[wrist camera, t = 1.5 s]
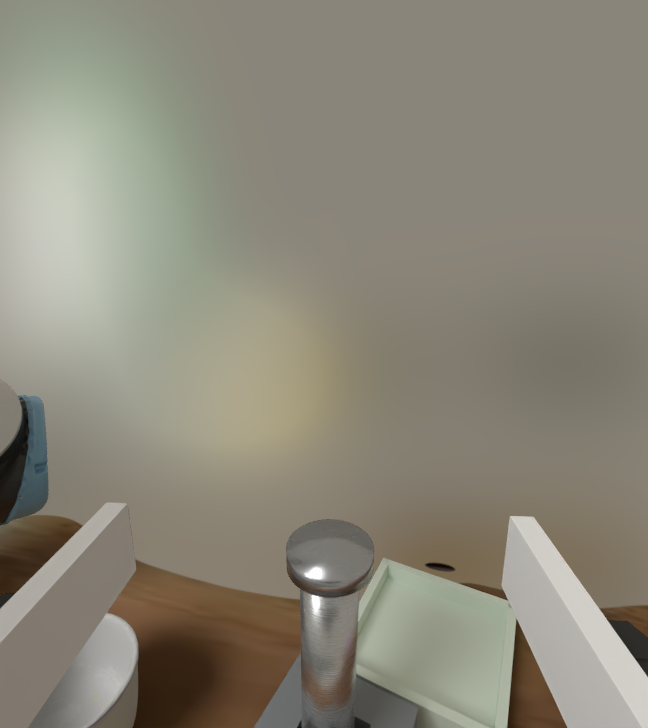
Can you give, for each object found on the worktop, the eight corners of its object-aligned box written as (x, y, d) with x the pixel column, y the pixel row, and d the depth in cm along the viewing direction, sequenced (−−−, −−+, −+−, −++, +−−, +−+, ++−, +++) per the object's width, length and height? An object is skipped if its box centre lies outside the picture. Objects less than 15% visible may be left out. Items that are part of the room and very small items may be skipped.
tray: (327, 682, 36) (328, 659, 36) (382, 576, 48) (383, 557, 48) (501, 772, 30) (505, 747, 29) (514, 624, 42) (517, 604, 41)
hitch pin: (276, 795, 29) (268, 559, 24) (313, 722, 33) (313, 511, 28) (345, 843, 26) (353, 592, 21) (374, 758, 31) (386, 534, 26)
